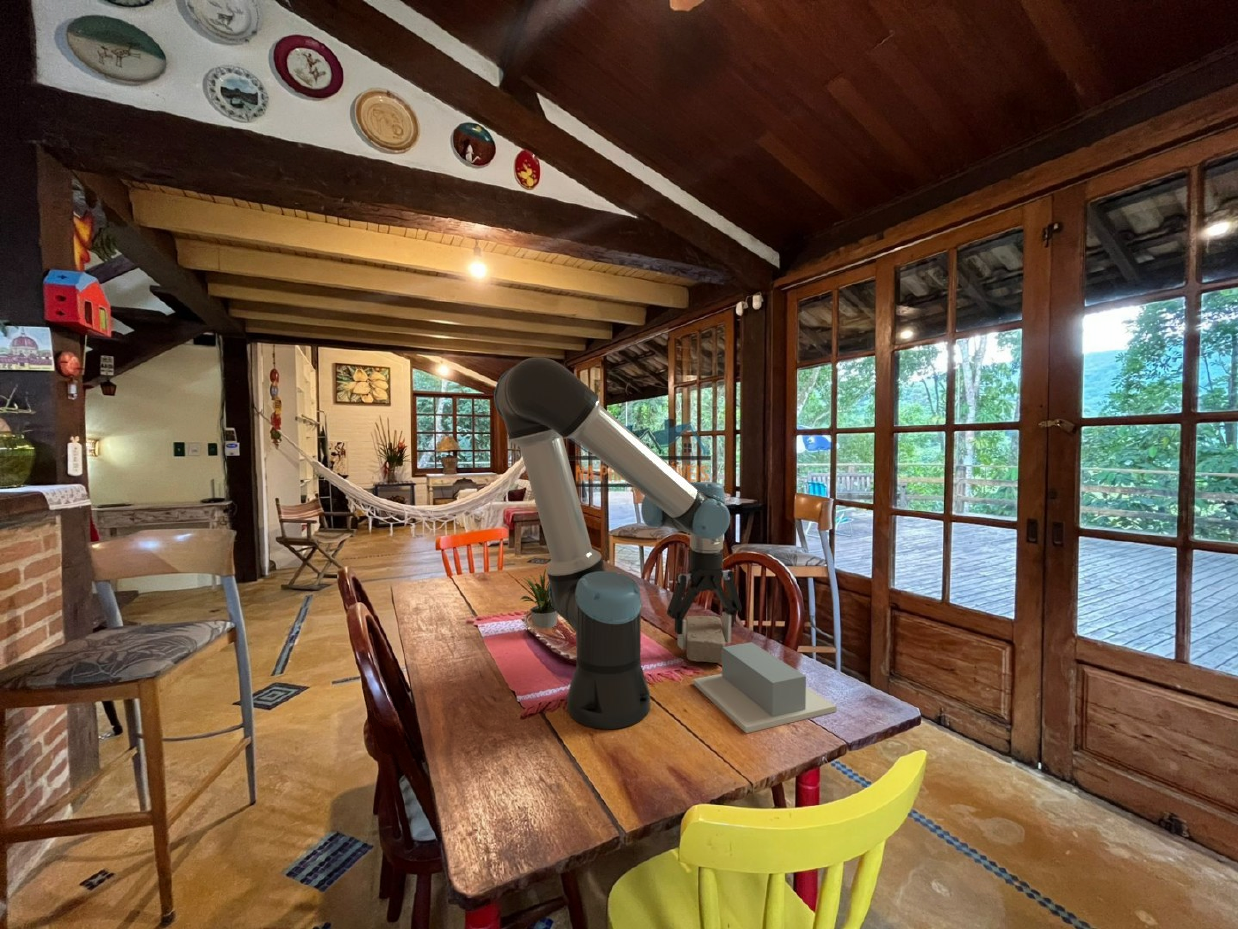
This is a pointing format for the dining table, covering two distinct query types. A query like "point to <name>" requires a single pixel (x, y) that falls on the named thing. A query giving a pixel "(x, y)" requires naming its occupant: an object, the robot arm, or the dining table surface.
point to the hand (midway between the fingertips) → (704, 644)
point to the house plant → (541, 605)
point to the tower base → (751, 709)
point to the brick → (704, 638)
